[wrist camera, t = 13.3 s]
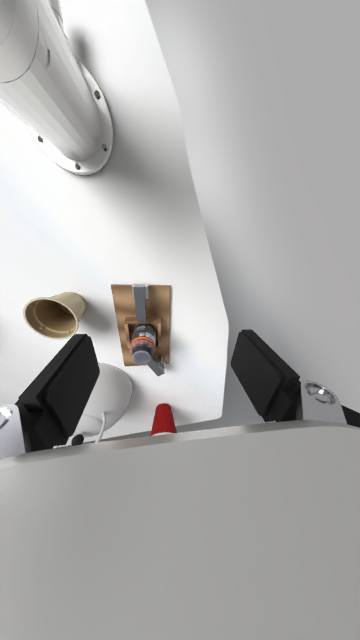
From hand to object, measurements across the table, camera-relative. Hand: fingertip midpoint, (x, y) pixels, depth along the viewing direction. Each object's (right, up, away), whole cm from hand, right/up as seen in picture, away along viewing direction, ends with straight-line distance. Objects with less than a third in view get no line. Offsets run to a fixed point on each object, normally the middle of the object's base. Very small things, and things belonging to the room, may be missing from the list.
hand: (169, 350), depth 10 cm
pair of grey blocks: (-7, -1, +33) cm, 34 cm away
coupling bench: (-9, -1, +34) cm, 35 cm away
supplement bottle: (-9, -1, +33) cm, 35 cm away
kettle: (-28, -22, +43) cm, 56 cm away
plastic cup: (-6, -34, +52) cm, 63 cm away
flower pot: (-26, +6, +28) cm, 39 cm away
